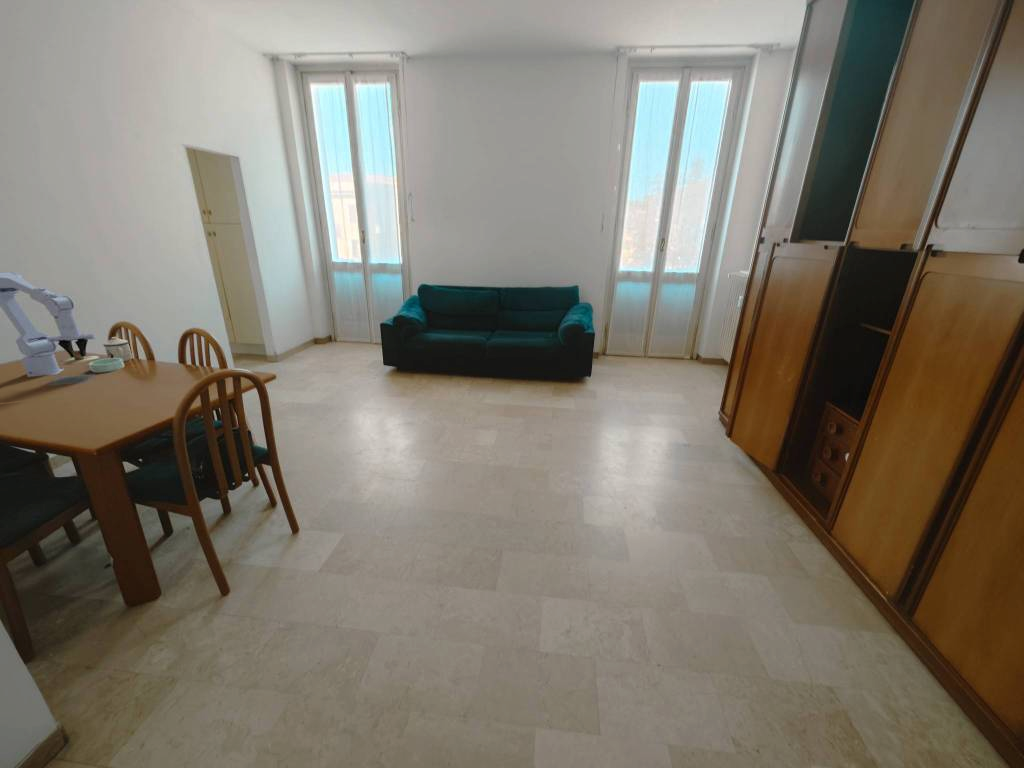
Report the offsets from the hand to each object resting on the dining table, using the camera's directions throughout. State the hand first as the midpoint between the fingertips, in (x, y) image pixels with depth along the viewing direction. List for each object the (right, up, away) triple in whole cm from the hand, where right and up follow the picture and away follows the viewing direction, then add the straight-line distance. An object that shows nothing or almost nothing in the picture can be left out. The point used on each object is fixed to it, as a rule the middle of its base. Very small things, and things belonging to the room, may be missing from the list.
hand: (78, 356), depth 174 cm
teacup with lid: (-6, 0, +25) cm, 26 cm away
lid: (0, -2, 0) cm, 2 cm away
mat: (-1, -11, -2) cm, 11 cm away
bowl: (0, -5, +13) cm, 14 cm away
